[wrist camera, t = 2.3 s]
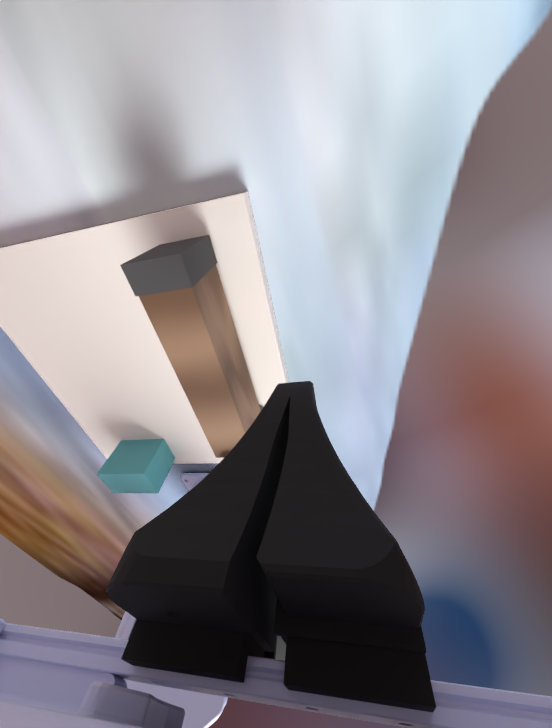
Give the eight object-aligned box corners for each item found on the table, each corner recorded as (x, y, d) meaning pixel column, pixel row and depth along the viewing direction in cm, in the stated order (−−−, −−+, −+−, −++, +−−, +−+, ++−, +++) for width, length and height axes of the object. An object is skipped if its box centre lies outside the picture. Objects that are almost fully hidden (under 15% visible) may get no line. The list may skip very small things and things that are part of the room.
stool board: (304, 451, 29) (301, 501, 25) (117, 456, 34) (88, 498, 30) (248, 191, 17) (223, 201, 12) (-36, 255, 21) (-124, 279, 17)
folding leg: (268, 432, 26) (259, 479, 22) (234, 433, 26) (220, 479, 22) (209, 234, 17) (175, 256, 13) (159, 244, 17) (114, 268, 13)
